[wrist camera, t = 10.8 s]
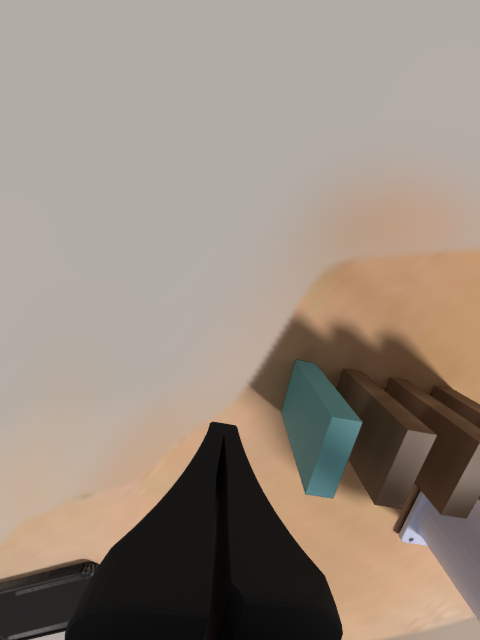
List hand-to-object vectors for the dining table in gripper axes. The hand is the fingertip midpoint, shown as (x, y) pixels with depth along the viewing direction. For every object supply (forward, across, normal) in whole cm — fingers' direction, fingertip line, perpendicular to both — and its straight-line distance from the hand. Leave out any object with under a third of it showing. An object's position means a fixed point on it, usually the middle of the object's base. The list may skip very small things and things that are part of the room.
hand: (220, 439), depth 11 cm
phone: (+8, +14, +30) cm, 34 cm away
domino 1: (+7, -10, 0) cm, 12 cm away
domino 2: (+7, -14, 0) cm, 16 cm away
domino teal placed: (+7, -6, 0) cm, 9 cm away
